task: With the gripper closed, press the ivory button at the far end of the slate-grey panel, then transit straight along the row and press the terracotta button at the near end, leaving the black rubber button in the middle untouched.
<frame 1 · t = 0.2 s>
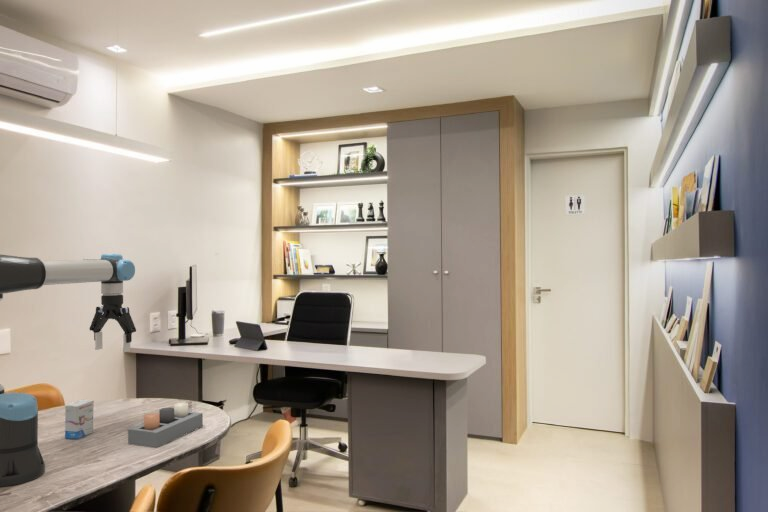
hand: (112, 350, 215), 28 cm above the table, fingers open, 13 cm apart
panel: (167, 434, 202), on the table
button terracotta: (151, 424, 195), point 6 cm above the table, slide at 0.0 cm
button ivory: (181, 412, 209), point 6 cm above the table, slide at 0.0 cm
button black: (166, 417, 202), point 6 cm above the table, slide at 0.0 cm
ink box: (79, 435, 202), on the table
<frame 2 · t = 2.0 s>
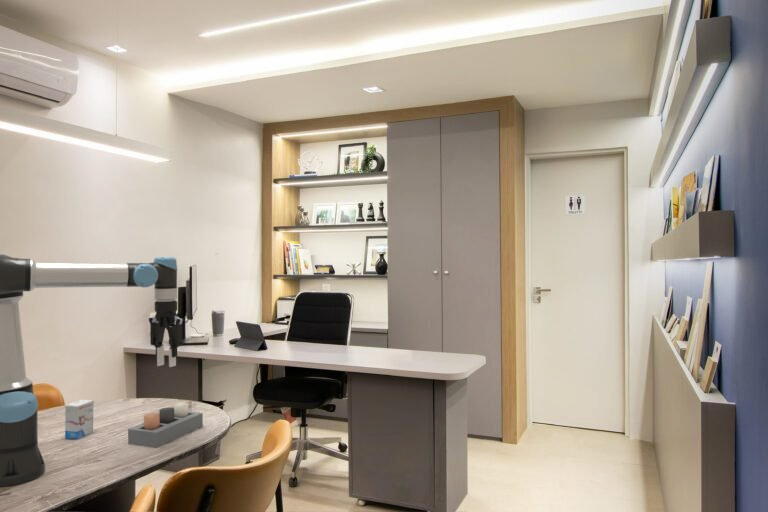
hand: (166, 365, 202), 25 cm above the table, fingers open, 4 cm apart
nothing on the table moved.
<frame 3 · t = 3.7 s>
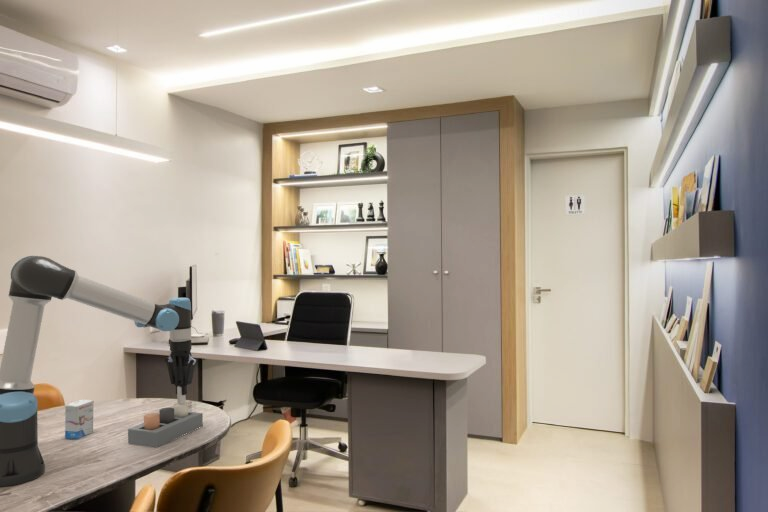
hand: (181, 403, 209), 9 cm above the table, fingers closed
button ivory: (181, 412, 209), point 6 cm above the table, slide at 0.0 cm, touching gripper
everything else where it was.
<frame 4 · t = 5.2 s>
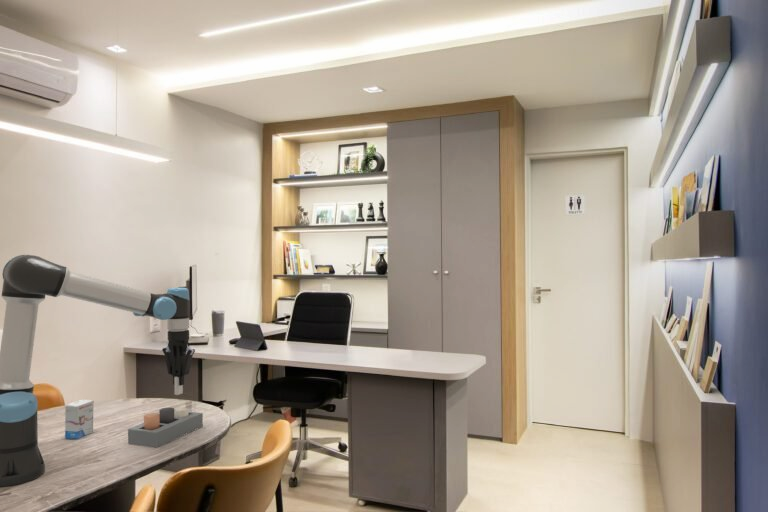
hand: (178, 393, 208), 13 cm above the table, fingers closed
button ivory: (181, 417, 209), point 4 cm above the table, slide at 2.0 cm
everything else where it was.
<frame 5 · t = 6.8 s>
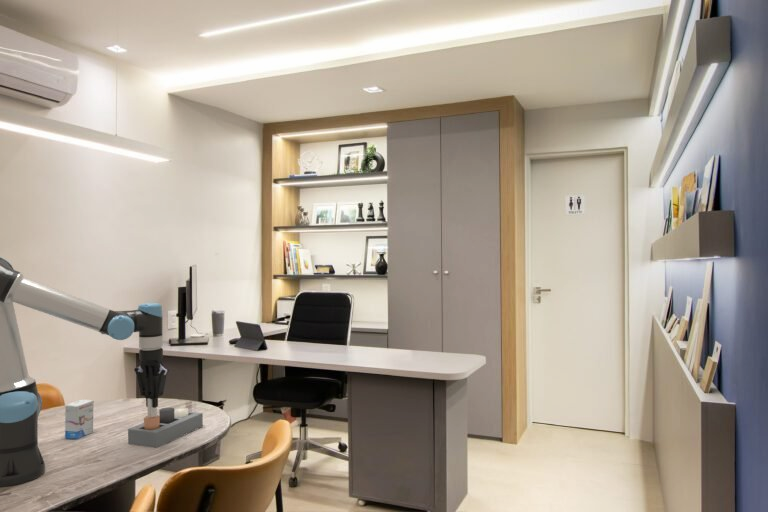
hand: (152, 416, 195), 9 cm above the table, fingers closed
button terracotta: (151, 426, 195), point 5 cm above the table, slide at 0.7 cm, touching gripper
everything else where it was.
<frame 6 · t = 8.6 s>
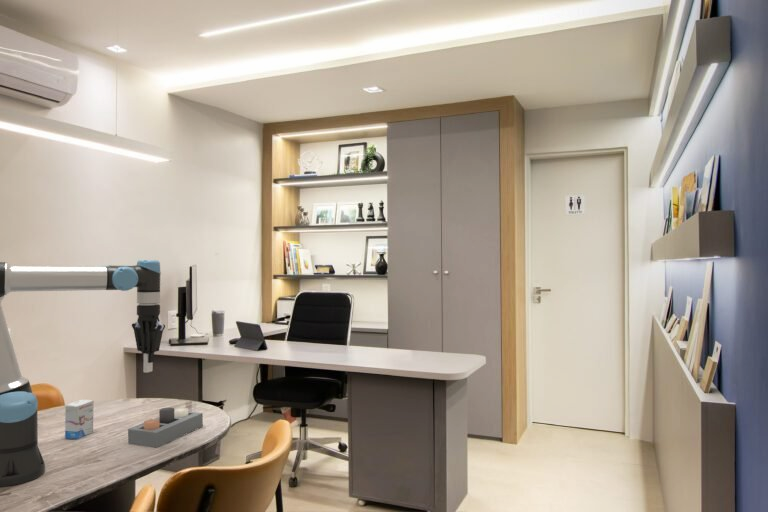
hand: (148, 371, 198), 23 cm above the table, fingers closed
button terracotta: (151, 429, 195), point 4 cm above the table, slide at 2.0 cm
everything else where it was.
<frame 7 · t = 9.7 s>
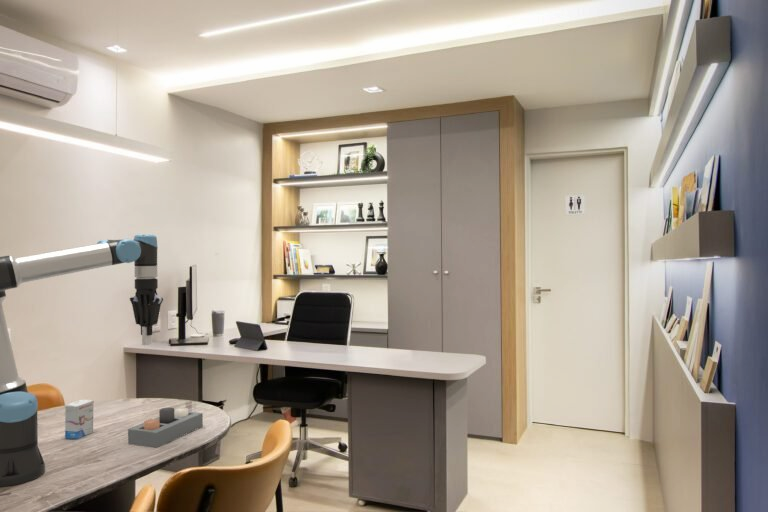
hand: (146, 344, 201), 32 cm above the table, fingers closed
nothing on the table moved.
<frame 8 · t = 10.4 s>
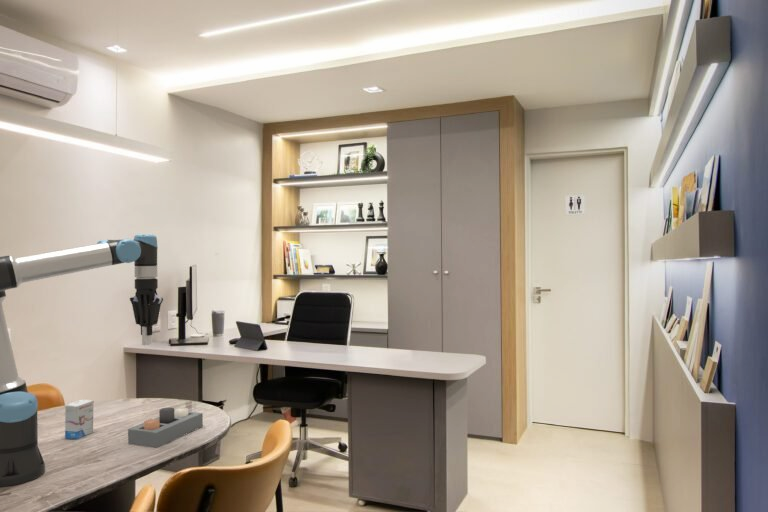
hand: (146, 344, 201), 32 cm above the table, fingers closed
nothing on the table moved.
at the end: button ivory slide at 2.0 cm; button terracotta slide at 2.0 cm; button black slide at 0.0 cm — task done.
